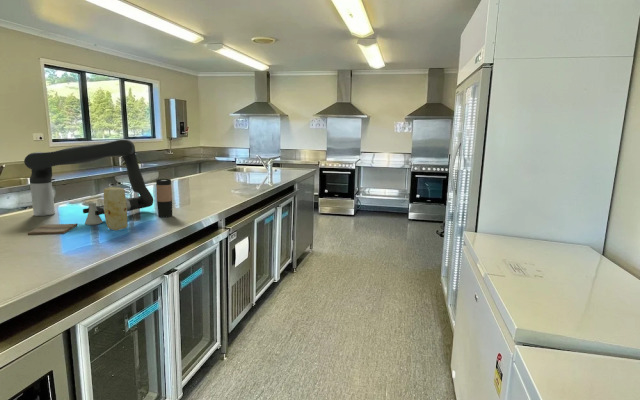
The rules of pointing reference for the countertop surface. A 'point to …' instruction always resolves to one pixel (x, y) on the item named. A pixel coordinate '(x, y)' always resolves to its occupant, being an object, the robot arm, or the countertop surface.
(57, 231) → the walnut board
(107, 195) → the food model
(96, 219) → the flask
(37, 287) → the countertop surface
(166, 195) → the travel mug
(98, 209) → the robot arm
